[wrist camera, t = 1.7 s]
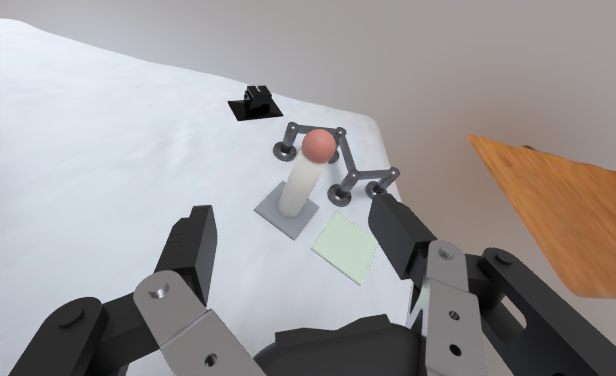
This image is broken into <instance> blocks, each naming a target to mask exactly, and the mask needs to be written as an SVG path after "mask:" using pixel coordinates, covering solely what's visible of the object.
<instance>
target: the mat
mask: <svg viewBox="0 0 616 376" xmlns="http://www.w3.org/2000/svg"><path fill="white" fill-rule="evenodd" d="M285 185H286V183H285V182H284V181H282V182H281V183H280V184H279V185H278V186H277V187H276V188H275V189H274V190H273V191H272V192H271V193H270V194H269V195H268V196H267V197H266V198H265V199H264V200H263V201H262V202H261V203H260V204H259V205H258V206H257V207H256V208H255V209H254V211H256V212H257V213H258V214H260V215H261V216H262V217H264V218H265V219H266V220H268V221H269V222H270V223H272V224H273V225H274V226H276V227H277V228H278V229H280V230H281V231H282V232H284V233H285V234H286V235H288V236H289V237H290V238H292V239H293V240H295V239H296V238H297V236H298V235H299V234H300V232H301V231H302V230H303V228H304V227H305V226H306V224H307V223H308V222H309V220H310V219H311V218H312V216H313V215H314V214H315V212H316V211H317V210H318V208H319V206H317V205H316V204H314V203H313V202H312V201H310V200H309V199H308V198H307V200H306V202H305V204H304V205H303V207H302V209H301V211H300V212H299V214H298V215H297V216H296V217H294V218H285V217H283V216H282V215H281V214H280V213H279V212H278V210H277V204H278V202H279V199H280V197H281V195H282V192H283V190H284V187H285Z"/></svg>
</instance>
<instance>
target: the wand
mask: <svg viewBox="0 0 616 376" xmlns="http://www.w3.org/2000/svg"><path fill="white" fill-rule="evenodd" d="M335 150H336V143H335V139H334V137H333V136H332V135H331V134H330V133H329V132H328V131H326V130H323V129H316V130H312V131H310V132H309V133H308V134H307V135H306V136H305V137H304V139H303V142H302V146H301V149H300V151H299V154H298V156H297V158H296V161H295V163H294V166H293V168H292V170H291V173H290V175H289V178H288V180H287V183H286V185H285V187H284V190H283V192H282V195H281V197H280V199H279V202H278V204H277V210H278V212H279V213H280V214H281V215H282V216H283V217H285V218H294V217H296V216H297V215H298V214H299V212H300V211H301V209H302V207H303V205H304V204H305V202H306V200H307V198H308V197H309V195H310V193H311V191H312V190H313V188H314V186H315V185H316V183H317V181H318V179H319V178H320V176H321V174H322V172H323V171H324V169H325V167H326V165H327V164H328V162H329V160H330V159H331V158H332V157H333V155H334V153H335Z"/></svg>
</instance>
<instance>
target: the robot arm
mask: <svg viewBox="0 0 616 376" xmlns="http://www.w3.org/2000/svg"><path fill="white" fill-rule="evenodd" d="M368 224H369V228H370V230H371V232H372V233H373V235H374V236H375V238H376V240H377V241H378V243H379V245H380V246H381V248H382V250H383V251H384V253H385V255H386V256H387V258H388V259H389V261H390V263H391V264H392V266H393V268H394V269H395V271H396V273H397V274H398V276H399V278H400V279H401V280H405V279H411V280H412V281H413V283H412V286H411V291H410V298H409V305H408V312H407V319H406V324H405V326H402V325H399V324H394V323H390V321H389V319H388V317H387V315H386V314H382V315H376V316H370V317H364V318H360V319H358V320H356V321H354V322H352V323H350V324H348V325H346V326H344V327H342V328H340V329H338V330H323V329H313V328H299V329H294V330H288V331H282V332H276V333H275V342H274V343H272V344H270V345H268V346H267V347H265V348H264V349H262V350H261V351H260V352H259V353H258V354H256V355H255V356H254V357H253V358H252V357H251V356H250V355H249V353H248V352H247V351H246V350H245V348H244V347H243V346H242V345H241V343H240V342H239V341H238V340H237V339H236V337H235V336H234V335H233V334H232V332H231V331H230V330H229V329H228V327H227V326H226V325H225V324H224V323H223V321H222V320H221V319H220V318H219V316H218V315H217V314H216V313H215V312H214V311H213V310H212V309H209V310H207V309H206V308H205V307H207V301H208V295H209V289H210V283H211V277H212V270H213V264H214V258H215V252H216V246H217V229H216V224H215V219H214V213H213V208H212V206H211V205H202V206H193V208H192V211H191V214H190V217H189V218H181V219H180V220H179V221H178V222H177V223H176V224H175V225H174V226H173V227H172V230H171V232H170V234H169V237H168V239H167V242H166V245H165V247H164V249H163V251H162V254H161V256H160V259H159V261H158V264H157V266H156V268H155V271H154V273H153V274H152V275H150V276H148V277H147V278H145V279H144V280H143V281H142V282H141V283H140V284H139V285H138V286H137V287H136V289H135V291H134V292H132V293H131V294H128V295H126V296H123V297H120V298H117V299H115V300H112V301H109V302H106V303H104V304H102V303H101V302H100V300H98V299H97V298H94V297H83V298H79V299H76V300H73V301H71V302H68V303H66V304H65V305H63V306H61V307H60V308H58V309H57V310H55V311H54V312H53V313H52V314H51V315H49V316H48V317H47V319H46V320H45V321H44V322H43V324H42V325H41V327H40V328H39V330H38V331H37V333H36V334H35V336H34V337H33V339H32V340H31V342H30V343H29V345H28V346H27V348H26V349H25V351H24V352H23V354H22V355H21V357H20V358H19V360H18V361H17V363H16V365H15V366H14V368H13V369H12V371H11V372H10V374H9V375H8V376H125V375H126V372H127V369H128V366H129V363H131V362H133V361H135V360H137V359H139V358H141V357H144V356H146V355H148V354H150V353H152V352H154V351H156V350H158V349H160V350H161V352H162V354H163V356H164V358H165V359H166V361H167V363H168V365H169V367H170V368H171V370H172V372H173V374H174V376H488V374H487V367H486V358H485V351H484V343H483V335H482V331H483V333H484V334H485V336H486V337H487V338H488V340H489V341H490V343H491V344H492V345H493V347H494V348H495V350H496V351H497V352H498V354H499V355H500V357H501V358H502V359H503V361H504V362H505V363H506V365H507V366H508V368H509V369H510V370H511V372H512V373H513V375H514V376H616V346H615V345H614V344H612V343H611V342H610V341H609V340H608V339H607V338H606V337H605V336H604V335H602V334H601V333H600V332H599V331H598V330H597V329H596V328H595V327H593V326H592V325H591V324H590V323H589V322H588V321H587V320H586V319H585V318H583V317H582V316H581V315H580V314H579V313H578V312H577V311H576V310H574V309H573V308H572V307H571V306H570V305H569V304H568V303H567V302H566V301H564V300H563V299H562V298H561V297H560V296H559V295H558V294H557V293H556V292H554V291H553V290H552V289H551V288H550V287H549V286H548V285H547V284H546V283H544V282H543V281H542V280H541V279H540V278H539V277H538V276H537V275H535V274H534V273H533V272H532V271H531V270H530V269H529V268H528V267H527V266H526V265H524V264H523V263H522V262H521V261H520V260H519V259H518V258H516V257H515V256H514V255H512V254H510V253H509V252H507V251H504V250H501V249H498V248H487V249H485V250H484V252H483V254H482V256H477V255H470V254H464V253H463V252H462V251H461V249H459V248H458V247H457V246H455V245H453V244H451V243H449V242H446V241H443V240H438V239H437V238H436V237H435V236H434V235H433V234H432V233H431V232H430V231H429V229H428V228H427V227H426V226H425V225H424V224H423V223H422V222H421V221H420V220H419V218H418V217H417V216H415V214H414V213H413V212H412V211H411V210H410V208H409V207H407V206H405V205H404V204H402V203H401V202H397V200H396V199H395V198H394V197H393V196H392V195H391V194H389V193H387V194H375V195H374V197H373V200H372V204H371V209H370V213H369V217H368ZM505 295H506V296H507V297H508V298H509V299H510V300H511V302H513V304H514V305H515V306H516V307H517V308H518V309H519V310H520V311H521V313H522V314H523V315H524V317H525V319H526V322H527V326H526V328H525V329H524V328H523V327H522V326H521V324H520V323H519V322H518V321H517V320H516V319H515V317H514V316H513V315H512V314H511V313H510V312H509V311H508V309H507V308H506V307H505V306H504V305H503V304H502V303H501V300H502V299H503V298H504V297H505Z"/></svg>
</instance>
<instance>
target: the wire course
mask: <svg viewBox="0 0 616 376" xmlns="http://www.w3.org/2000/svg"><path fill="white" fill-rule="evenodd" d="M316 129H323V130H326V131H328V132H329V133H330V134H331V135H332V136H333V137H334V139H335V143H336V150H335V153H334V155H333V157H332V158H331V159H330V160H329V162H328V163H335V162H336V161H337V160H338V159H339V153H338V151H337V148H338V147H339V145H340V147H341V150H342V153H343V157H344V160H345V163H346V167H347V170H348V174H347V176H346V177H345V179H344V180H343V181H342V183H341V184H340V185H339V184H335V185H332V186H331V187H330V188H329V190H328V198H329V199H330V201H331V202H332V203H333V204H335V205H337V206H341V207H343V206H346V205H348V204H349V202H350V201H351V193H350V192H349V191H350V190H351V189H352V188H353V186H354V185H355V184H356V182H357V181H358V180H363V179H376V178H381V179H380V180H379V181H378V182H375V181H372V182H369V183H368V184H367V186H366V193H367V194H368V196H369V197H370V198H371V199H373V197H374V195H375V194H387V190H386V189H387V188H388V186H389V185H390V184H391V183H392V182H393V181H394V180H395V179H396V178H397V177H398V176H399V175H400V172H399V170H398V169H397V168H395V167H391V168H390V169H389V170H375V171H357V170H356V167H355V164H354V161H353V158H352V155H351V152H350V149H349V146H348V143H347V140H346V137H345V135H346V130H345V129H343V128H341V127H338V128H337V129H333V128H324V127H314V126H305V125H298V124H297V123H294V122H290V123H288V126H287V129H286V132H285V135H284V139H283V142H278V143H276V144H275V146H274V149H273V153H274V155H275V156H276V157H277V158H278V159H280V160H282V161H291V160H293V159H294V158H295V156H296V153H297V152H296V149H295V147H294V146H293V143H294V141H295V138H296V135H297V133H302V134H308V133H309V132H310V131H312V130H316Z"/></svg>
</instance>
